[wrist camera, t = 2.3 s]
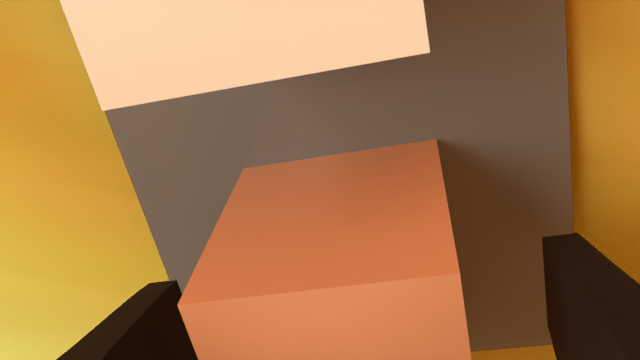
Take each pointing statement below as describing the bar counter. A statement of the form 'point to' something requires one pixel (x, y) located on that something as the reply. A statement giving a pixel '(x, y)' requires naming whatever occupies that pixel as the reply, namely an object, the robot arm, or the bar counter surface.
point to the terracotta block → (332, 263)
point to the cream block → (232, 42)
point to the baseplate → (388, 130)
